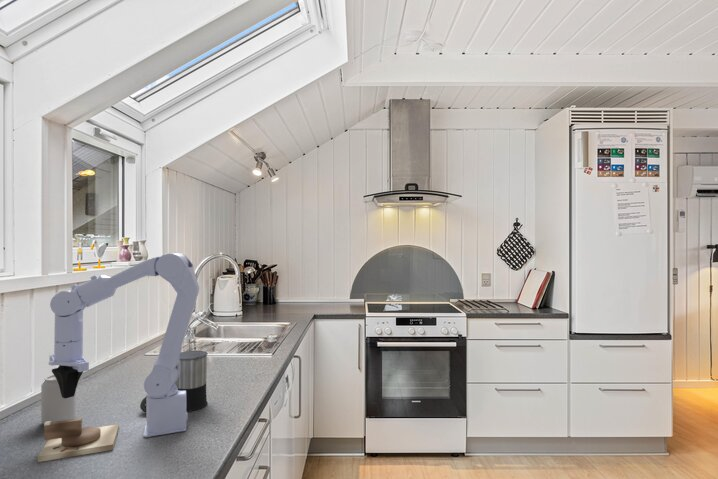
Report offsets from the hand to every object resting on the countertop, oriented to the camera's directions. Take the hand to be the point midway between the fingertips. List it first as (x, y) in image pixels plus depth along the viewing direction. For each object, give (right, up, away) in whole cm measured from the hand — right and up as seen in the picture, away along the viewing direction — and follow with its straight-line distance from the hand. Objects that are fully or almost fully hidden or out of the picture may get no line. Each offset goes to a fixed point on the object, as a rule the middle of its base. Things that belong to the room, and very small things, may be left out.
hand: (68, 396), depth 105 cm
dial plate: (+6, -10, -4) cm, 12 cm away
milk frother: (+18, -10, +18) cm, 27 cm away
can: (-8, -10, +9) cm, 16 cm away
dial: (+5, -8, -5) cm, 11 cm away
